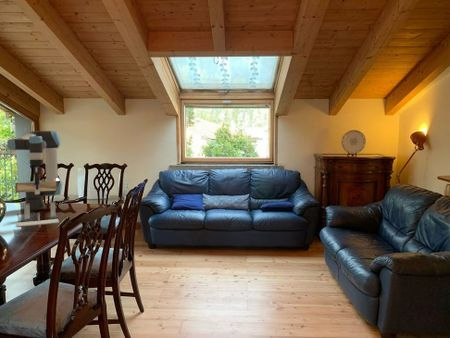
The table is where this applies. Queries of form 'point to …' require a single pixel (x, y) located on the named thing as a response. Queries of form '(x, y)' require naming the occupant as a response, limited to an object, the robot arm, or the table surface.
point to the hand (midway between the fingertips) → (37, 193)
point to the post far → (52, 211)
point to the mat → (37, 222)
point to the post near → (27, 212)
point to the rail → (31, 187)
